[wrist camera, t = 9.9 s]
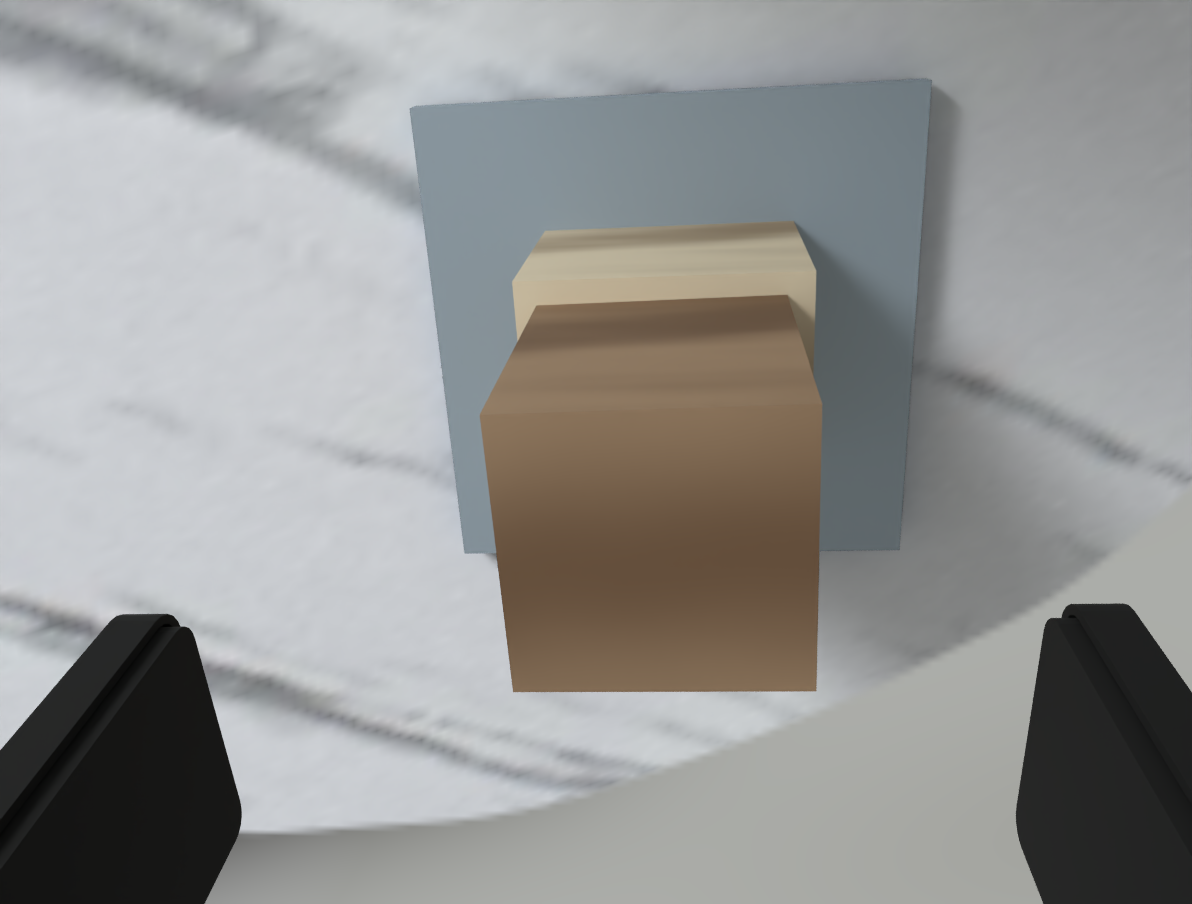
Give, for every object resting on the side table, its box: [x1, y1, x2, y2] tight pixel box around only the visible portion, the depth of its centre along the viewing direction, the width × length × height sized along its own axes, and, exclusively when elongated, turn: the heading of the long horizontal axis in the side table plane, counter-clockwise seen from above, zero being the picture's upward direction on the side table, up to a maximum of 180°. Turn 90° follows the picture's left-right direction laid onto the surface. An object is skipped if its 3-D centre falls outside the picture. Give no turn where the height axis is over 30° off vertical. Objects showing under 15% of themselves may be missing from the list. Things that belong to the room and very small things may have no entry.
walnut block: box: [480, 295, 822, 692], centre depth 19 cm, size 5×5×6 cm
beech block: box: [512, 221, 816, 373], centre depth 24 cm, size 6×6×5 cm
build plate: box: [410, 79, 932, 553], centre depth 26 cm, size 12×12×1 cm
